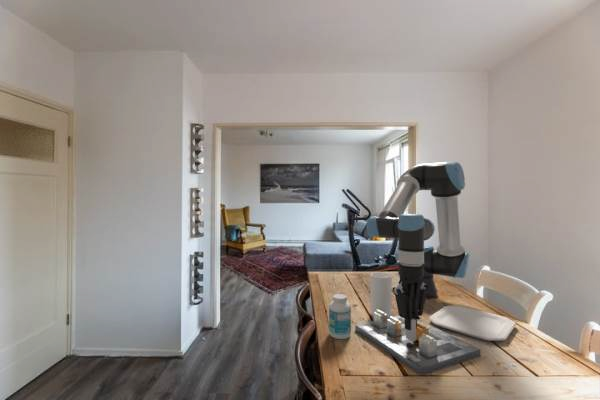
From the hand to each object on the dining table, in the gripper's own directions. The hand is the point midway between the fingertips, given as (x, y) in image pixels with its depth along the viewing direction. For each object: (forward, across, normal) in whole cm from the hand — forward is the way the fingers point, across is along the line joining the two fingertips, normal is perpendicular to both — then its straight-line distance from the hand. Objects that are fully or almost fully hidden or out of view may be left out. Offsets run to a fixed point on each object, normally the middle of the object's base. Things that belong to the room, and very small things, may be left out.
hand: (410, 339), depth 94 cm
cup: (+4, -10, -26) cm, 28 cm away
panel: (+3, -4, -3) cm, 6 cm away
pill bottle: (+3, +15, -17) cm, 23 cm away
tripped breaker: (+1, -4, 0) cm, 4 cm away
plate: (+4, -34, -4) cm, 35 cm away
